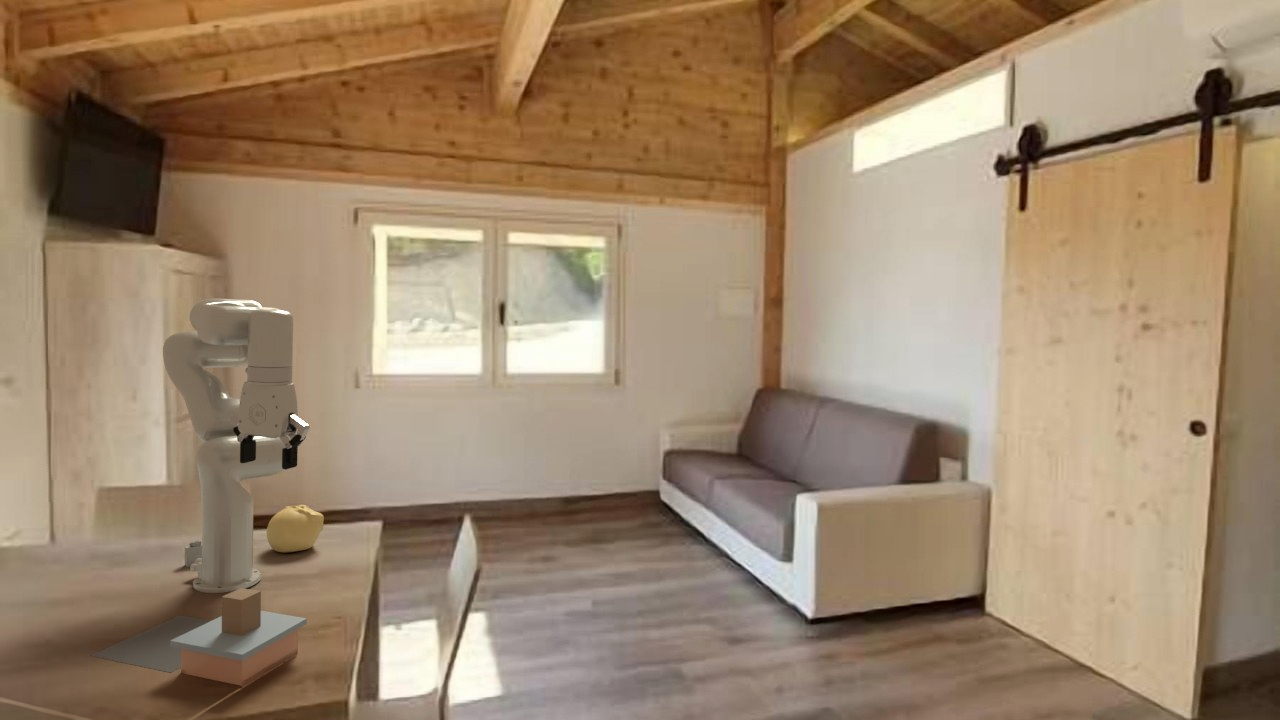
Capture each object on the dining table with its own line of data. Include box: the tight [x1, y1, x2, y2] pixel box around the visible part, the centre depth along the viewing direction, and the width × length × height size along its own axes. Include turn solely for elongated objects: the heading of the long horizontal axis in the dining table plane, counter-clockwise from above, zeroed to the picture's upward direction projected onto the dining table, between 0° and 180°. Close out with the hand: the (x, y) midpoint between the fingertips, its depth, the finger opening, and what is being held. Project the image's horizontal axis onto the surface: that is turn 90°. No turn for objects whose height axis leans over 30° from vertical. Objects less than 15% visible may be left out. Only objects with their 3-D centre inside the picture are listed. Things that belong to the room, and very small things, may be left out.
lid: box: [170, 588, 308, 661], centre depth 119 cm, size 14×14×7 cm
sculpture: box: [266, 504, 325, 553], centre depth 176 cm, size 12×12×11 cm
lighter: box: [184, 539, 202, 568], centre depth 164 cm, size 7×2×8 cm, turn 141°
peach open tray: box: [180, 629, 299, 689], centre depth 119 cm, size 12×12×5 cm
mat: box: [90, 614, 211, 674], centre depth 125 cm, size 17×17×1 cm
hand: (268, 464), depth 136 cm, fingers open, 9 cm apart
